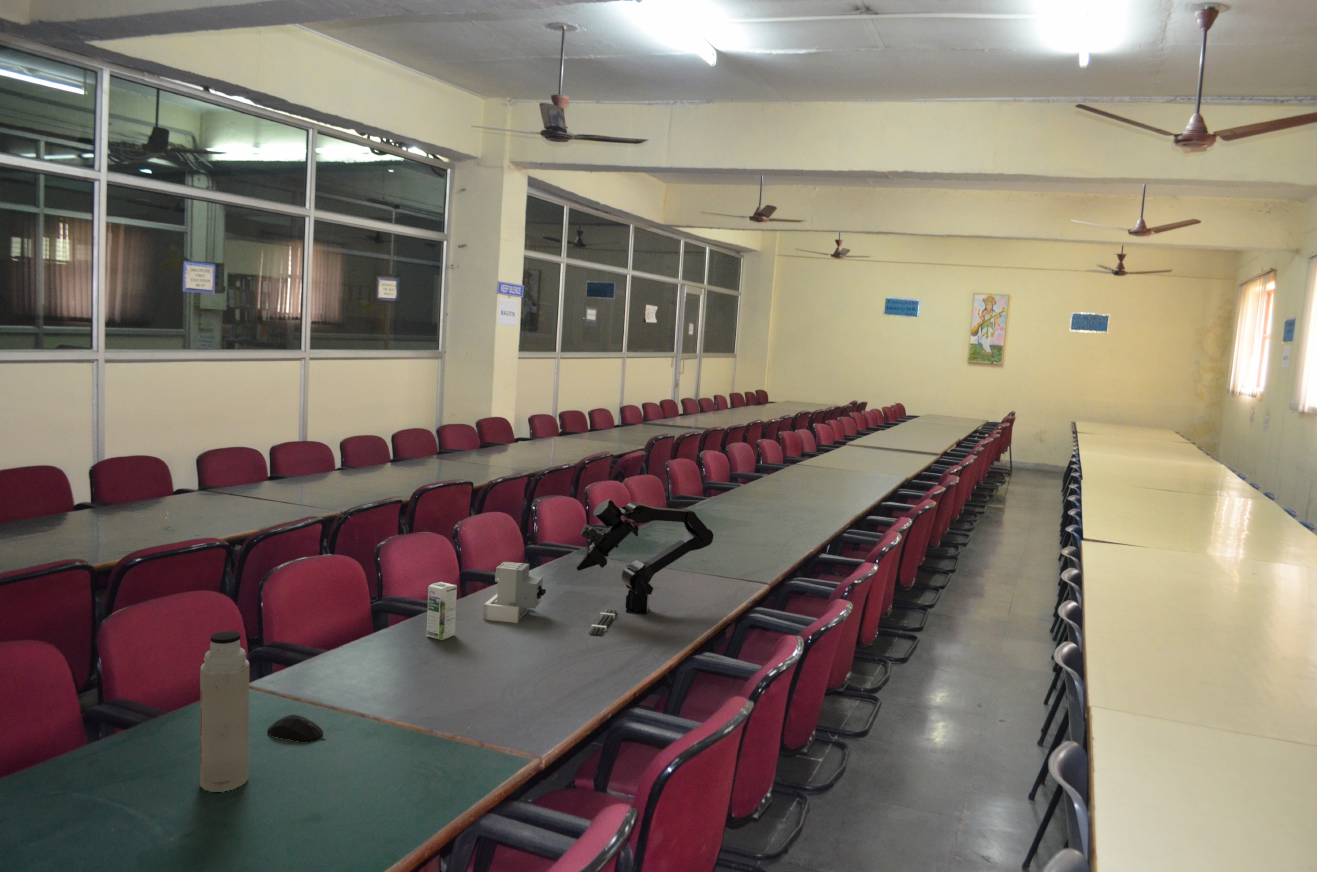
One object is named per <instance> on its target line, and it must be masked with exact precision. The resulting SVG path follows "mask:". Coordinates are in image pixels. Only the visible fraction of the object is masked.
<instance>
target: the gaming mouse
mask: <svg viewBox="0 0 1317 872" xmlns="http://www.w3.org/2000/svg"><path fill="white" fill-rule="evenodd" d="M267 734H268V735H269V734H270V735H272V736H274V737H278V738H283V739H282V740H284V739H290V740H293V741H292V742H295V741H299V742H298V743H301V742H308V743H312V742H311V741H313V742H315V740H316V741H318V740H319V739H321V740H320V741H323V740H324V741H325V739H326V738H324V737H323V735H324V730H322V728H321V727H320V726H319V725H318V724H316V723H315V722H314V721H312V720H310V719H308V718H306V717H304V716H300V715H297V714H290V715H287V716H283V717H282V718H279V719H278V720H276V721H275V722H274V723H272V724H271V725H270V726H268V728H267ZM270 735H269V736H270ZM272 736H271V737H272ZM274 737H273V738H274ZM278 738H277V739H278Z"/></svg>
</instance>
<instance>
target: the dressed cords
mask: <svg viewBox="0 0 1317 872" xmlns="http://www.w3.org/2000/svg"><path fill="white" fill-rule="evenodd" d="M617 613H618V611H617V610H616V609H614V610H613V609H607V608H606V609H605V610H604V611H603V612H600V613H599V614H600V615H599V616H600V617H599V618H598V619H597V620H596V622H595V623H594V624H591V626H590V630H589V631H588V634H589V636H591V635H593V636H599V637H600V636H602V634H603V633H604V632H606V631H608V630H607V629H608V628H607V627H608V626H609V624H611V621H612V620H614V619H615V618H616V614H617Z"/></svg>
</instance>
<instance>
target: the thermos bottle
mask: <svg viewBox="0 0 1317 872" xmlns="http://www.w3.org/2000/svg"><path fill="white" fill-rule="evenodd" d="M240 639H241V632H239V631H234V630H223V631H219V632H215V633H213V634H212V635H210V644H209V650H207V651H206V652H205V654H204V658H203V661H204V663H202V664H201V666H200V668H199V669H200V672H199V674H200V676H199V679H200V681H199V684H200V685H199V686H200V687H199V688H200V689H199V690H200V692H199V694H200V697H199V699H200V702H199V708H200V709H199V710H200V712H199V719H200V720H199V727H200V728H199V730H200V731H199V739H200V740H199V772H200V773H199V786H201V787H202V788H203V789H205V790H210V791H223V790H228V789H234V788H237V787H239V786H241V785H243V784H244V783H245V782H246V781H247V780H248V781H249V766H250V765H249V758H250V757H249V755H250V754H249V751H250V750H249V747H250V746H249V727H250V662H249V660H248V659H247V656H246V655H247V652H246V650H245V649H244V648H242V647H241V640H240ZM248 781H247V782H248ZM243 786H244V785H243ZM201 787H200V788H201Z"/></svg>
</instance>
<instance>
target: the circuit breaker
mask: <svg viewBox="0 0 1317 872" xmlns="http://www.w3.org/2000/svg"><path fill="white" fill-rule="evenodd" d="M495 569H496V571H495V574H494V575H495V576H494V582H496V583H497V591H496V592H497V593H496V594H497V600H496V601H494V604H496V605H506V606H515V607H519V613H518V620H521V619H522V618H523V617H524V615H526V614H527V612H528V610H527V608H531V609H536V608H537V607H538V606H539V605H540V604H541V603H542V601H543V600H542V599H543V596H544V595H545V594H546V591H547V589H544V588H543V584H544V583H543V579H544V578H543V576H531V575H530V563H523V562H511V561H503V562H501V564H500V565H497V567H495Z"/></svg>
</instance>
